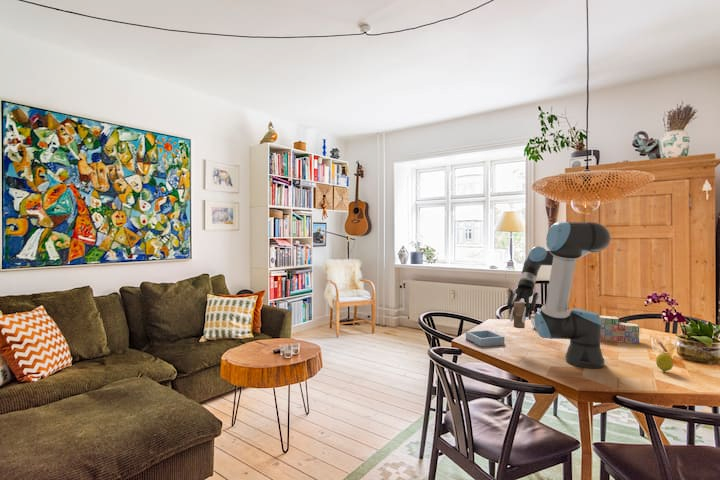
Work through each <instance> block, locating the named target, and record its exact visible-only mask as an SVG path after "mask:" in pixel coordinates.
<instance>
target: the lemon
mask: <svg viewBox="0 0 720 480" xmlns="http://www.w3.org/2000/svg"><path fill="white" fill-rule="evenodd" d="M655 363H656V367H657V368H659V369H660V370H661V371H662V372H664V371H666V372H667V371H670V370H672V368H673V367H674V361H673V358H672V356H671V355H669V354H668V353H666V352H663V353H660V354H658V355H657V357H656V360H655Z"/></svg>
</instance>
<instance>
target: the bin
mask: <svg viewBox="0 0 720 480" xmlns="http://www.w3.org/2000/svg"><path fill="white" fill-rule="evenodd" d="M466 339H468V340H470V341H472V342H474V343H476V344H477V346H478V345H479V347H480V346H483V347H493V346H502V345H503V346H504V345H505V336H503V335H501V334H499V333H496V332H494V331H492V330H489V329H485V330H473V331H465V340H466ZM468 340H467V341H468ZM470 341H469V342H470ZM472 342H471V343H472ZM474 343H473V344H474ZM476 344H475V345H476Z"/></svg>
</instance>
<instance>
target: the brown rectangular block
mask: <svg viewBox="0 0 720 480" xmlns="http://www.w3.org/2000/svg"><path fill="white" fill-rule="evenodd" d="M524 309H526V302H523V301H519V302H514V317H513V328H516V329H525V327H526V325H525V324H526V322H525V323H523V322H522V317H523V313H524Z"/></svg>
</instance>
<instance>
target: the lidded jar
mask: <svg viewBox="0 0 720 480" xmlns="http://www.w3.org/2000/svg"><path fill="white" fill-rule="evenodd" d="M529 316H530V322H531V326H532V327H534V329H536V326H535V320H534V316H535V313H531V314H529Z"/></svg>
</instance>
